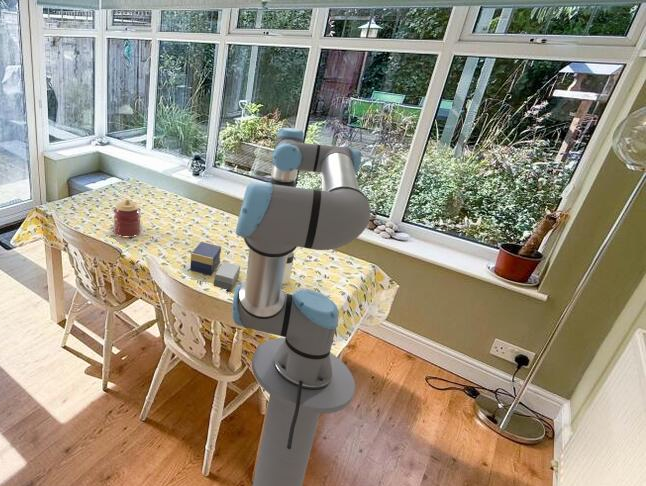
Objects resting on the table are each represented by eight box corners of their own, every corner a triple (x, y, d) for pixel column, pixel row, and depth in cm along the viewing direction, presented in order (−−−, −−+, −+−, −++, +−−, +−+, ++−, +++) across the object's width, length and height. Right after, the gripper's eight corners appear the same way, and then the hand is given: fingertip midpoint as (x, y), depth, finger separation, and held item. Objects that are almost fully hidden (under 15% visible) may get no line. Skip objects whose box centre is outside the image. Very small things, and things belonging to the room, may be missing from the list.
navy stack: (211, 275, 165) (212, 264, 163) (190, 270, 168) (191, 259, 167) (219, 263, 175) (220, 252, 173) (199, 258, 179) (200, 247, 177)
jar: (263, 278, 164) (267, 251, 160) (273, 270, 170) (278, 245, 165) (283, 287, 158) (288, 260, 154) (294, 279, 164) (299, 253, 159)
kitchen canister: (110, 229, 204) (109, 196, 197) (134, 225, 208) (134, 192, 202) (119, 240, 193) (119, 206, 186) (144, 236, 197) (145, 202, 191)
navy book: (212, 265, 163) (212, 258, 162) (190, 260, 166) (191, 253, 165) (220, 252, 173) (221, 246, 172) (200, 248, 177) (200, 241, 176)
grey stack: (231, 290, 155) (232, 279, 153) (213, 286, 158) (214, 274, 156) (239, 276, 165) (240, 265, 163) (222, 272, 168) (223, 261, 166)
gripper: (327, 182, 126) (314, 244, 133) (245, 169, 136) (238, 228, 144) (325, 188, 120) (312, 253, 127) (240, 175, 130) (232, 236, 137)
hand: (273, 240), depth 135 cm, fingers open, 13 cm apart
